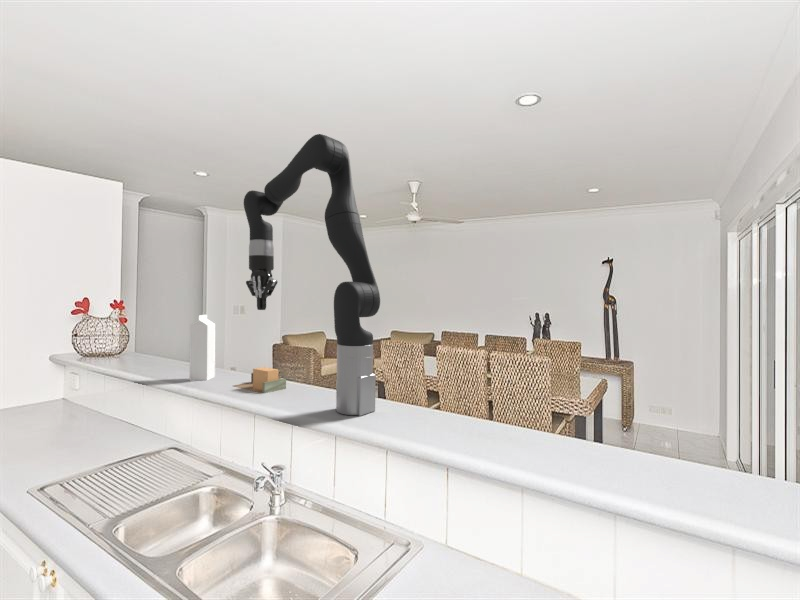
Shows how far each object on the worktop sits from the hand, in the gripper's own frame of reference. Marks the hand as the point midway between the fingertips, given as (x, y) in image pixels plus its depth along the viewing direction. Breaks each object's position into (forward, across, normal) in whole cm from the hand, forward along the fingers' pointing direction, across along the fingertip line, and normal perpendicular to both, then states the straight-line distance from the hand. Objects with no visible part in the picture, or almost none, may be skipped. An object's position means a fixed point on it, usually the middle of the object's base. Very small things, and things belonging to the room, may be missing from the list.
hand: (261, 309), depth 142 cm
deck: (+24, -1, +2) cm, 25 cm away
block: (+24, -5, +2) cm, 25 cm away
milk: (+24, +25, +5) cm, 35 cm away
